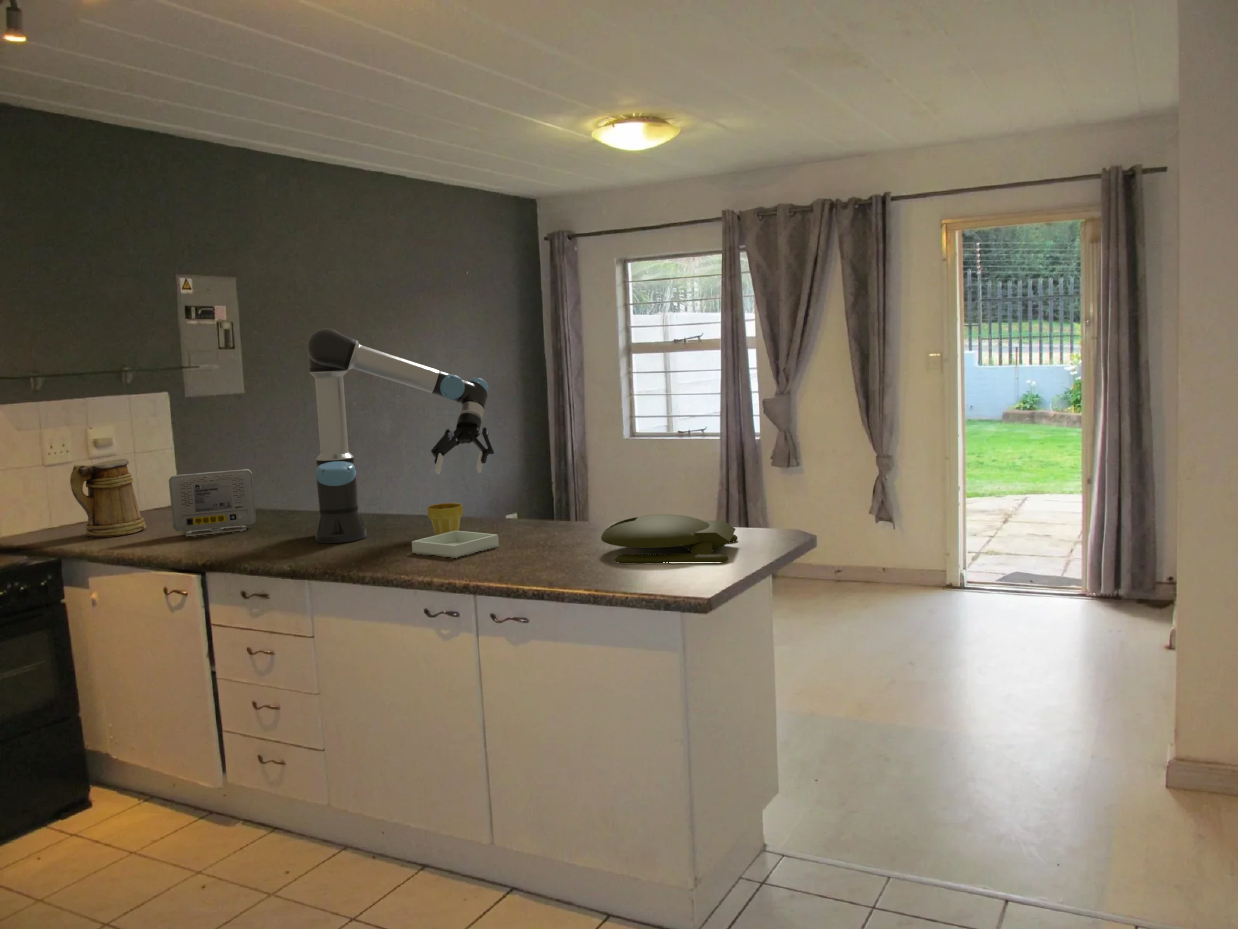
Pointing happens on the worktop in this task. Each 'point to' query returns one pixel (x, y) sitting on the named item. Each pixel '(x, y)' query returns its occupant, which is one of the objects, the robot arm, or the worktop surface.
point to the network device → (212, 501)
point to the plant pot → (445, 517)
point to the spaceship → (670, 538)
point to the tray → (455, 544)
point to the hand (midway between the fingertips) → (457, 471)
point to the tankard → (107, 498)
